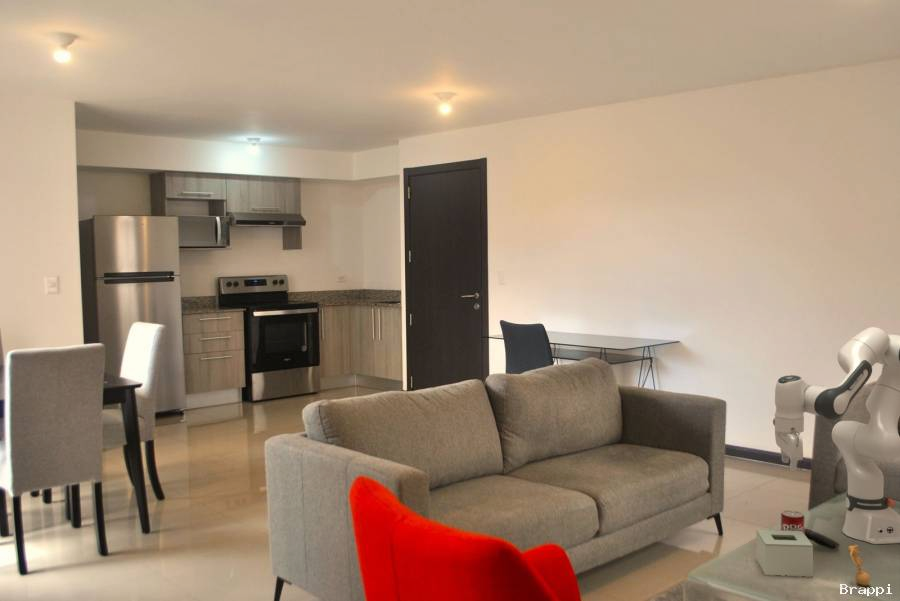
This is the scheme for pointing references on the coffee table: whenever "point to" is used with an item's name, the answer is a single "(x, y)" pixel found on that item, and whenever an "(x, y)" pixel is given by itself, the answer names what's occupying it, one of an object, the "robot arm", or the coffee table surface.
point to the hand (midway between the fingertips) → (789, 466)
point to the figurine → (861, 576)
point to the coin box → (784, 553)
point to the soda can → (792, 521)
